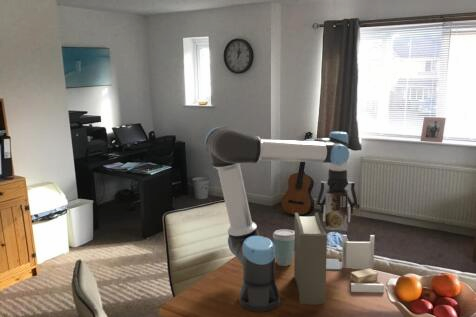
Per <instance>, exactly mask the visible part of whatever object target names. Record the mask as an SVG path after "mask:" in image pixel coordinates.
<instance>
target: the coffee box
mask: <svg viewBox="0 0 476 317" xmlns="http://www.w3.org/2000/svg"><path fill="white" fill-rule="evenodd" d="M328 189H329V188H327V189H326V191H325V195H326V203H325V206H326V213H325V221H324V222H325V224H324V226H325V229H324V230H328V231H329V230H331V231H332V230H333V231H345V232H347V231H348V205H349V202H348V196H349V190H348V189H345V190H346V192H345V193H343V191H341V192H340V191H333V192H332V193H330V192H328Z"/></svg>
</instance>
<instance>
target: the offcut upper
mask: <svg viewBox="0 0 476 317" xmlns="http://www.w3.org/2000/svg"><path fill="white" fill-rule="evenodd" d="M378 275H379V274H378V272H376V271H375V270H374V269H371V268H369V269H359V270H355V271H352V272H350V277H351V279H352V280H353V281H355V282H356V283H365V282H370V281H374V280H377V279H378Z"/></svg>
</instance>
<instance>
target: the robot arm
mask: <svg viewBox="0 0 476 317" xmlns="http://www.w3.org/2000/svg"><path fill="white" fill-rule="evenodd" d="M204 139H205V140H204V146H205V149H206V151H207V152H208V154H209V155H210V161H211V165H212V167H213V168H214V169H216V170H217V172H218V176H219V181H220V185H221V186H220V187H221V190H222V195H223V199H224V202H225V208H226V213H227V216H228V217H227V218H228V220H229V221H228V222H229V224H230V225H229V228H228V229H227V234H228V237H227V245H228V248H229V251H230V252H231V254H233V255H234V256H235V258H236V259H237V260H238V261H239V262H240V264H241V265H242V277H243V278H242V279H243V282H242V285H241V287H240V291H239V294H238V295H239V296H238V297H239V298H238V301H239V302H238V303H239V304H240V306H241V307H242V308H244V309H246V310H247V311H248V310H249V311H251V312H259V313H260V312H261V313H262V312H270V311H272V310H274V309H275V308H277V307H279V305H280V302H281V296H280V292H279V288H278V286H277V283H276V278H275V277H276V254H275V246H274V241H272V240H271V239H270V238H268V237H264V235H263V236H262V235H260V234H259V231H258V230H259V228H258V226H257V223H256V222H254V221H253V220H252V216H251V211H250V206H249V201H248V197H247V192H246V189H245V182H244V178H243V173H242V168H241V164H258V163H259V161H261V162H262V161H265V162H266V161H267V162H269V161H270V162H297V163H298V162H300V163H302V162H303V163H323V164H324V163H327V164H328V168H329V169H328V177H327V178H328V179H327V181H323V180H321V181H320V189H319V192H318V195H317V198H316V205H317V206H320V213H321V214H322V221H323V222H325V218H326V194H325V195H324V197H323V193H324V190H325V188H326V187H327V186H328V188H327V189H328V192H330V193H332V192H333V191H340V192H341V191H343V193H345V192H346V190H347V189H346V187H347V186H348V187H349V188H350V191H351V197H352V200H353V201H352V200H351V198H350V196H349V195H348V220H347V223H351V215H353V214H354V207H357V206H358V205H359V203H358V199H357V195H356V194H357V193H356V191H355V185H356V183H355V182H354V181H348V170H347V169H348V160H349V159H350V150H349V134H348V132H345V131H331V132H329V136H328V137H317V138H307V139H304V140H290V139H289V140H286V139H269V138H267V139H266V138H260V137H259V136H258V135H253V134H251V135H250V134H247V133H243V132H239V131H237V130H234V129H232V128H229V127H228V126H217V127H214V128H212V129H210V131H208V133H207V135H206V136H205V138H204ZM322 197H323V198H322Z"/></svg>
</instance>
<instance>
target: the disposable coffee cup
mask: <svg viewBox="0 0 476 317" xmlns="http://www.w3.org/2000/svg"><path fill="white" fill-rule="evenodd" d="M272 239H273V244H274V249H275V262H276V263H277V265H278V266H282V267H288V265H289V266H290V265H292V262H293V257H294V254H295V230H291V229H283V228H282V229H277V230H275V231H274V232H273V233H272Z"/></svg>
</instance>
